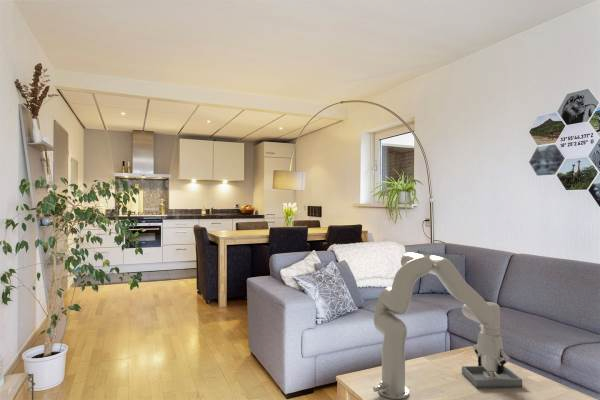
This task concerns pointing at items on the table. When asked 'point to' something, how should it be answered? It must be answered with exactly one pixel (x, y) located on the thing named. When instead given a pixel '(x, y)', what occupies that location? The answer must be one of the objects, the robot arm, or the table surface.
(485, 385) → the parts tray
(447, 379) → the table surface
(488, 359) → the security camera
